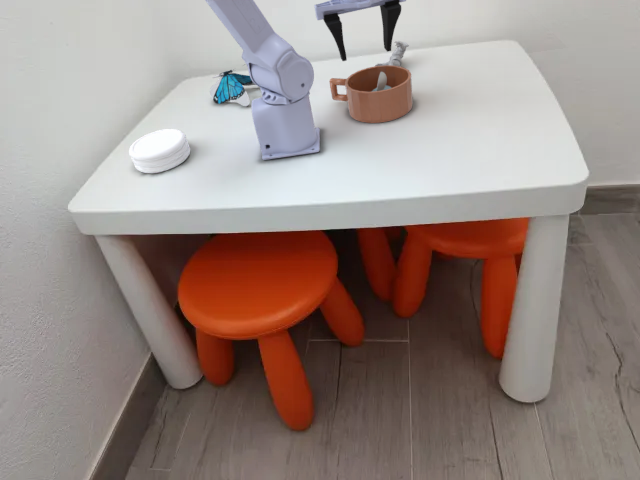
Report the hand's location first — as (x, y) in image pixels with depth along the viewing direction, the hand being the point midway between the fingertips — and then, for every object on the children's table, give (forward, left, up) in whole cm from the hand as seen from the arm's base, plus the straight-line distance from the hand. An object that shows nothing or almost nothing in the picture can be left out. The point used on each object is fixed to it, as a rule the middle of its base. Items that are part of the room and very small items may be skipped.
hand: (365, 54), depth 86 cm
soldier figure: (+6, +15, -10) cm, 18 cm away
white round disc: (-37, -8, -10) cm, 40 cm away
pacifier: (+1, -2, -9) cm, 9 cm away
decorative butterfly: (-27, +14, -7) cm, 32 cm away
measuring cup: (0, 0, -9) cm, 9 cm away
